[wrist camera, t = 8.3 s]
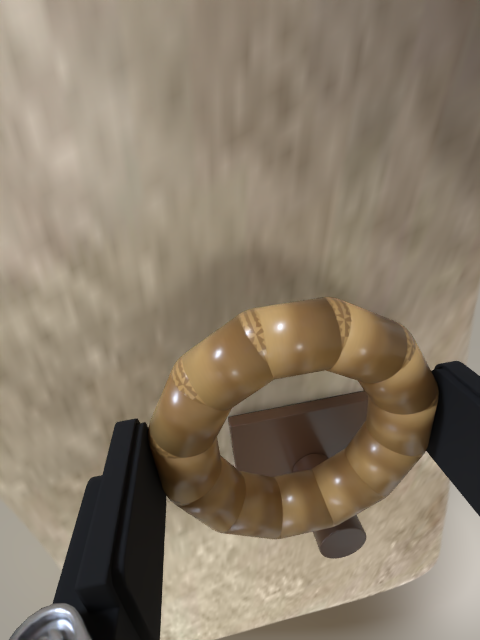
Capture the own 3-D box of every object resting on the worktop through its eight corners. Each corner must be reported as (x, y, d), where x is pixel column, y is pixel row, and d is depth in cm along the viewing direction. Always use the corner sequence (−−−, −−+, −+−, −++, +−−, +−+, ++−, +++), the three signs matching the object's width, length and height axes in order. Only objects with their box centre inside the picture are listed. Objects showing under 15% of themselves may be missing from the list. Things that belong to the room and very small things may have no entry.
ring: (181, 518, 12) (181, 573, 11) (122, 315, 8) (108, 355, 7) (395, 473, 13) (425, 518, 11) (429, 269, 9) (481, 294, 8)
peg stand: (243, 517, 23) (259, 612, 18) (227, 416, 19) (244, 505, 14) (368, 489, 24) (416, 572, 19) (380, 387, 19) (444, 461, 15)
